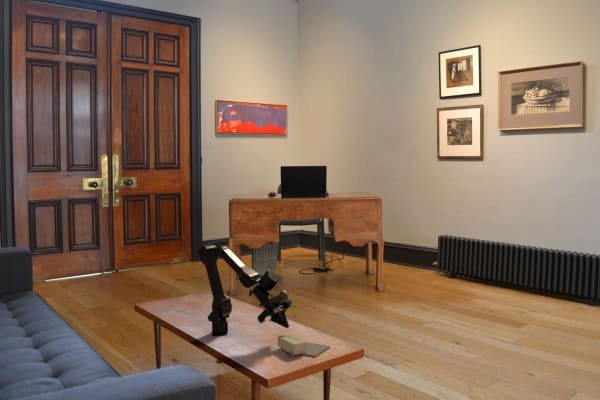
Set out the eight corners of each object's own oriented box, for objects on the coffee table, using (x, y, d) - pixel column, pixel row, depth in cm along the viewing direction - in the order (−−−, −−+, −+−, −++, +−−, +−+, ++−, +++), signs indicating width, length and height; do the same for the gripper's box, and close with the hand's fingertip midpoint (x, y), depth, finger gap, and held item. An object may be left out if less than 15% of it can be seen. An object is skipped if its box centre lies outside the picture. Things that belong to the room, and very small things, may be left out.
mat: (284, 351, 216) (284, 350, 216) (300, 342, 226) (300, 340, 226) (315, 357, 208) (315, 355, 208) (330, 347, 219) (330, 346, 219)
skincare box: (277, 346, 219) (292, 355, 209) (277, 335, 219) (292, 344, 208) (291, 344, 222) (306, 353, 212) (291, 333, 222) (306, 342, 212)
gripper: (262, 290, 215) (287, 321, 210) (288, 280, 230) (311, 309, 226) (247, 307, 219) (271, 338, 214) (273, 297, 235) (295, 325, 230)
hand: (288, 327), depth 221 cm, fingers closed
